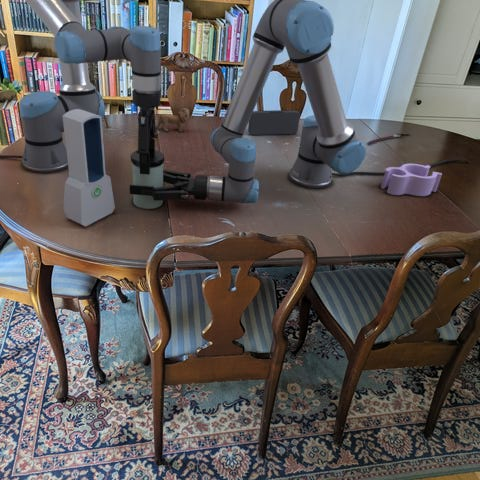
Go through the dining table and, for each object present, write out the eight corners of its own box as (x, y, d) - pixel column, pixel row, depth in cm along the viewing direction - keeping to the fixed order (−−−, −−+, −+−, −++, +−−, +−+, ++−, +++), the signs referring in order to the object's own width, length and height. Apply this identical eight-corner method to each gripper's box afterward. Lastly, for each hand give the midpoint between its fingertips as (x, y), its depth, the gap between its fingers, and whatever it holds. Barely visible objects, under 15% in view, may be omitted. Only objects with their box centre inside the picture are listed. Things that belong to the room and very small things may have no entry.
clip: (394, 198, 162) (399, 180, 158) (374, 182, 171) (379, 165, 168) (440, 194, 168) (447, 177, 164) (419, 179, 178) (424, 162, 174)
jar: (129, 197, 145) (127, 153, 137) (156, 193, 149) (156, 150, 141) (139, 210, 139) (137, 165, 131) (167, 206, 143) (167, 161, 135)
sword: (406, 132, 223) (406, 130, 222) (411, 134, 221) (412, 132, 220) (362, 144, 207) (363, 141, 206) (368, 146, 205) (368, 143, 204)
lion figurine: (187, 126, 202) (187, 106, 197) (190, 131, 198) (191, 110, 193) (153, 128, 197) (153, 107, 193) (156, 132, 193) (155, 111, 188)
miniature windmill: (99, 133, 186) (93, 55, 170) (79, 130, 187) (71, 51, 171) (109, 126, 194) (104, 50, 178) (90, 123, 195) (83, 47, 179)
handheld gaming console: (295, 131, 210) (298, 109, 204) (297, 134, 208) (301, 111, 202) (247, 133, 203) (249, 110, 197) (249, 135, 201) (251, 112, 195)
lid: (142, 170, 131) (142, 164, 130) (124, 158, 137) (124, 152, 136) (170, 163, 137) (170, 157, 136) (152, 152, 142) (152, 146, 141)
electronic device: (82, 228, 128) (71, 122, 112) (63, 219, 131) (50, 114, 115) (115, 211, 137) (109, 111, 121) (97, 203, 140) (89, 104, 124)
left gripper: (139, 78, 135) (141, 150, 147) (124, 100, 116) (127, 181, 128) (165, 80, 135) (165, 152, 147) (154, 103, 116) (155, 184, 129)
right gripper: (205, 216, 135) (126, 210, 133) (208, 183, 153) (139, 178, 152) (206, 193, 131) (125, 187, 129) (209, 162, 149) (138, 156, 147)
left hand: (147, 166), depth 138 cm, fingers open, 10 cm apart
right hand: (132, 182), depth 140 cm, fingers closed on jar, 9 cm apart
